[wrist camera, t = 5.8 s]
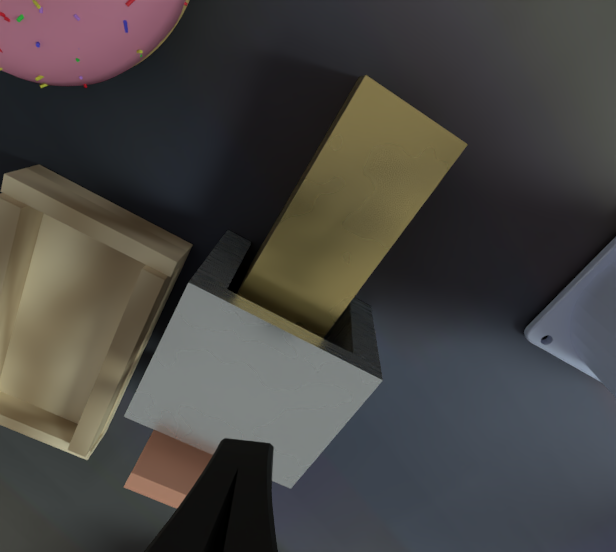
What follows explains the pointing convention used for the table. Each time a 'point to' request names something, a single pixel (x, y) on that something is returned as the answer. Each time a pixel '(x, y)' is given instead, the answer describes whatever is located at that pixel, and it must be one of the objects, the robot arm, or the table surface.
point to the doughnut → (81, 37)
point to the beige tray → (74, 305)
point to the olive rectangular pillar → (349, 207)
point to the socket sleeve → (255, 371)
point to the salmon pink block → (167, 469)
